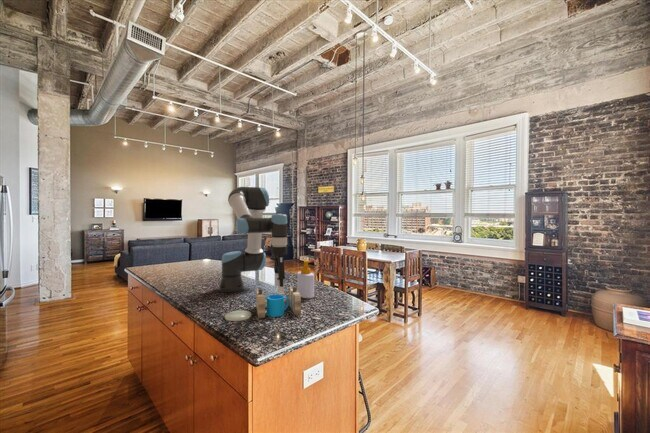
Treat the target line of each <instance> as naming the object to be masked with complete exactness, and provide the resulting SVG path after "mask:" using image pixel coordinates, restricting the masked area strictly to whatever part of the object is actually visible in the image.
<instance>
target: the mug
mask: <svg viewBox="0 0 650 433" xmlns="http://www.w3.org/2000/svg"><path fill="white" fill-rule="evenodd" d="M284 299H286V300H287V305H286V306H284ZM288 299H289V297H286V296H284V295H283V294H270V295H268V296H267V297H266V300H267V308H266V316H268V317H270V318H271V317H272V318H273V317H274V318H276V317H281V316H284V314H285V311H286V310H288V307H290V306H289V300H288Z"/></svg>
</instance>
